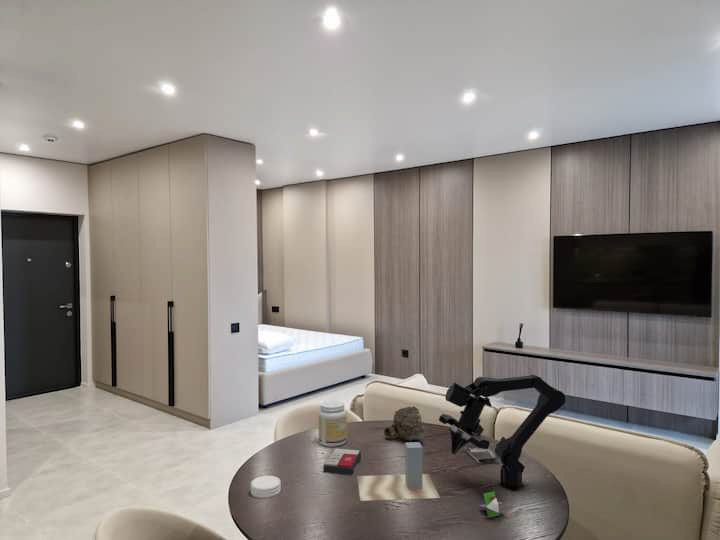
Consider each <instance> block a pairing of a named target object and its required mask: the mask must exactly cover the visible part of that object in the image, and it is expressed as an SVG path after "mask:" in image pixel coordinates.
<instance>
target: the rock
mask: <svg viewBox="0 0 720 540" xmlns="http://www.w3.org/2000/svg"><path fill="white" fill-rule="evenodd" d="M392 419H393V421H392V424H391V426H388V427H385V428H384V430H383V435H384V437H385V438H386V439H387V440H395V439H399V438H402V439H403V440H406V441H410V442H412V441H417V440H418V441H419V439H421V438H422V437H423V433H425V427H424V425H423V420H422V415H421V413H420V411H419V408H417V407H416V406H407V407H402V408H399V409H398V410H395V411H394V414H393V418H392Z"/></svg>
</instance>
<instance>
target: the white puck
mask: <svg viewBox="0 0 720 540" xmlns="http://www.w3.org/2000/svg"><path fill="white" fill-rule="evenodd" d="M281 484H282V483H281V479H280V478H279V477H277V476H274V475H262V476H258V477H256V478H254V479H253V480H252V481H251V482H250V493H251V496H252V497H254V498H258V499H267V498H272V497H275V496H277V495H278V494H279V493H280V492H281V488H282V487H281Z"/></svg>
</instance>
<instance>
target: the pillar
mask: <svg viewBox="0 0 720 540" xmlns="http://www.w3.org/2000/svg"><path fill="white" fill-rule="evenodd" d="M404 445H405V447H404V450H405V452H404V453H405V456H404V458H405V459H404V460H405V462H404V463H405V464H404V465H405V469H404V470H405V471H404V472H405V474H404V475H405V483H406V486H407V489H422V474H423V446H422V444H421V443H420V442H419V441H418V442H417V441H414V442H413V441H410V442H405V444H404Z"/></svg>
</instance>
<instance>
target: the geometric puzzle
mask: <svg viewBox="0 0 720 540" xmlns="http://www.w3.org/2000/svg"><path fill="white" fill-rule="evenodd" d="M496 496H497V494H496V492H495V490H493V491H489V492H483V493H482V497H481V500H484V504H478V505H477V506H478V507H480V510H481V509H482V508H483V507H484V508H486V516H487V518H492V517H496V516H500V505H499V504H501V505H502V504H504V501H498V500H499V498H497V497H496Z"/></svg>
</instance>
